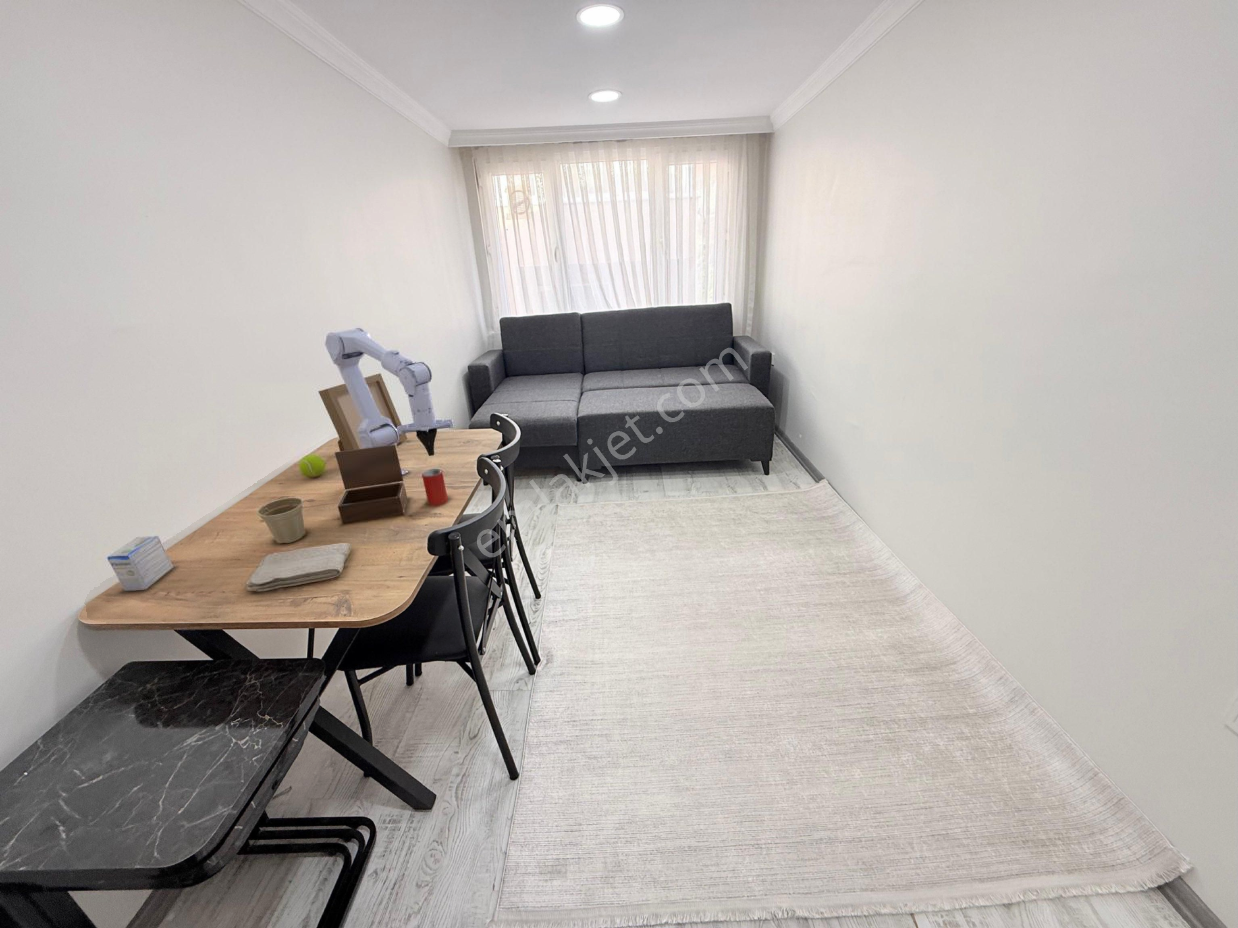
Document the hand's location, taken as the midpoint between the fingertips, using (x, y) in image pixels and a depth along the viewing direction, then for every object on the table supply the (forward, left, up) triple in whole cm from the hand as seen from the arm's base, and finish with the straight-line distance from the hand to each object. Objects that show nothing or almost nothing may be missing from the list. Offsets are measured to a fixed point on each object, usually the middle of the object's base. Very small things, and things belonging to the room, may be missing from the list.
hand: (431, 454), depth 140 cm
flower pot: (-12, -36, -10) cm, 39 cm away
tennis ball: (-43, -11, -10) cm, 45 cm away
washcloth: (+5, -43, -10) cm, 44 cm away
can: (+7, -6, -10) cm, 14 cm away
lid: (-7, -14, +1) cm, 16 cm away
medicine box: (-23, -60, -10) cm, 65 cm away
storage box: (-4, -18, -10) cm, 21 cm away
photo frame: (-47, +11, -10) cm, 49 cm away
